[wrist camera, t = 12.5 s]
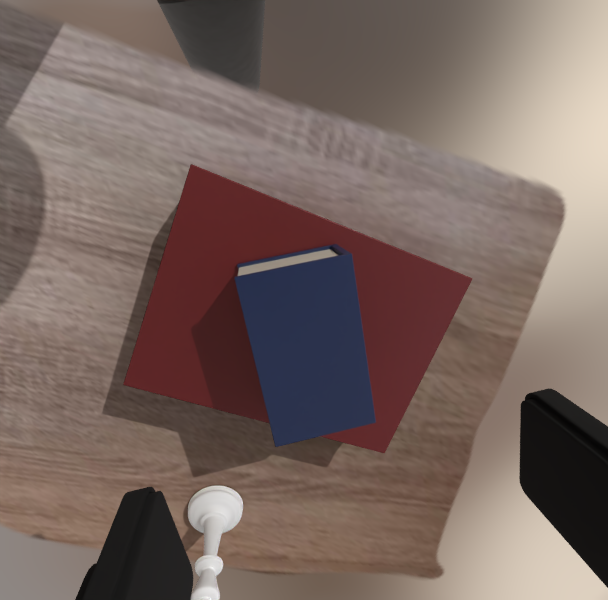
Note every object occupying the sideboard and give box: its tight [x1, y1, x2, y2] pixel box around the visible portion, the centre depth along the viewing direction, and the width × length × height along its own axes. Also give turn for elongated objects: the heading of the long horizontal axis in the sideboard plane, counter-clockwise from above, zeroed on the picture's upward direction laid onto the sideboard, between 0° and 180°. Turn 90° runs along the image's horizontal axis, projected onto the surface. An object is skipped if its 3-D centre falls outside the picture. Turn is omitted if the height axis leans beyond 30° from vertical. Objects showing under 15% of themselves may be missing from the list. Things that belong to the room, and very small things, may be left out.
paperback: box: [234, 244, 376, 447], centre depth 24 cm, size 11×6×4 cm, turn 10°
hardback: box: [124, 164, 472, 453], centre depth 28 cm, size 20×15×4 cm
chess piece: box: [188, 486, 243, 600], centre depth 29 cm, size 5×5×10 cm
